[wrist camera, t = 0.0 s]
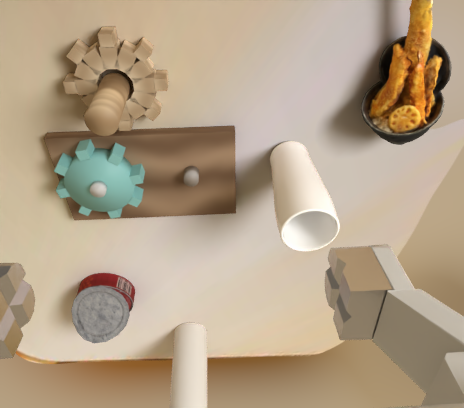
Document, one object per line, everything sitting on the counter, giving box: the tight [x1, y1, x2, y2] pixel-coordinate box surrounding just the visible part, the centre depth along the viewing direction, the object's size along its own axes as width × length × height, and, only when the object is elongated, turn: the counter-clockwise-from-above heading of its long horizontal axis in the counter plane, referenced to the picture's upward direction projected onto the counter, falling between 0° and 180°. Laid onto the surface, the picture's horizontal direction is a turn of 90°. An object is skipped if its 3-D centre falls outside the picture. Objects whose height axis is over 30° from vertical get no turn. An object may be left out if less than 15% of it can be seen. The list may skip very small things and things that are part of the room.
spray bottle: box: [170, 322, 207, 408], centre depth 74 cm, size 7×7×25 cm
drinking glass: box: [270, 141, 340, 251], centre depth 50 cm, size 7×7×15 cm
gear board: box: [44, 126, 236, 220], centre depth 55 cm, size 14×24×4 cm, turn 91°
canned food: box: [71, 273, 135, 343], centre depth 71 cm, size 11×10×10 cm
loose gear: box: [63, 26, 169, 136], centre depth 43 cm, size 11×11×10 cm
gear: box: [54, 139, 145, 219], centre depth 53 cm, size 11×11×4 cm
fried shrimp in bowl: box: [361, 0, 451, 145], centre depth 44 cm, size 9×11×18 cm
